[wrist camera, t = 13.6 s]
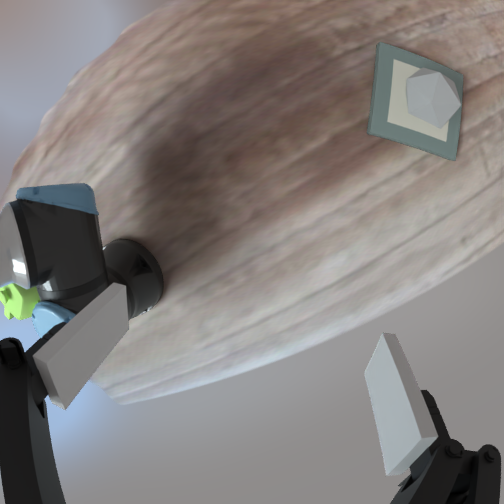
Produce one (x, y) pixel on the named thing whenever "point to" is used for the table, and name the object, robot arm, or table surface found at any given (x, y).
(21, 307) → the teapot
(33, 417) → the robot arm
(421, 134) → the base board
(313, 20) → the table surface
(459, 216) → the table surface
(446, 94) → the die
